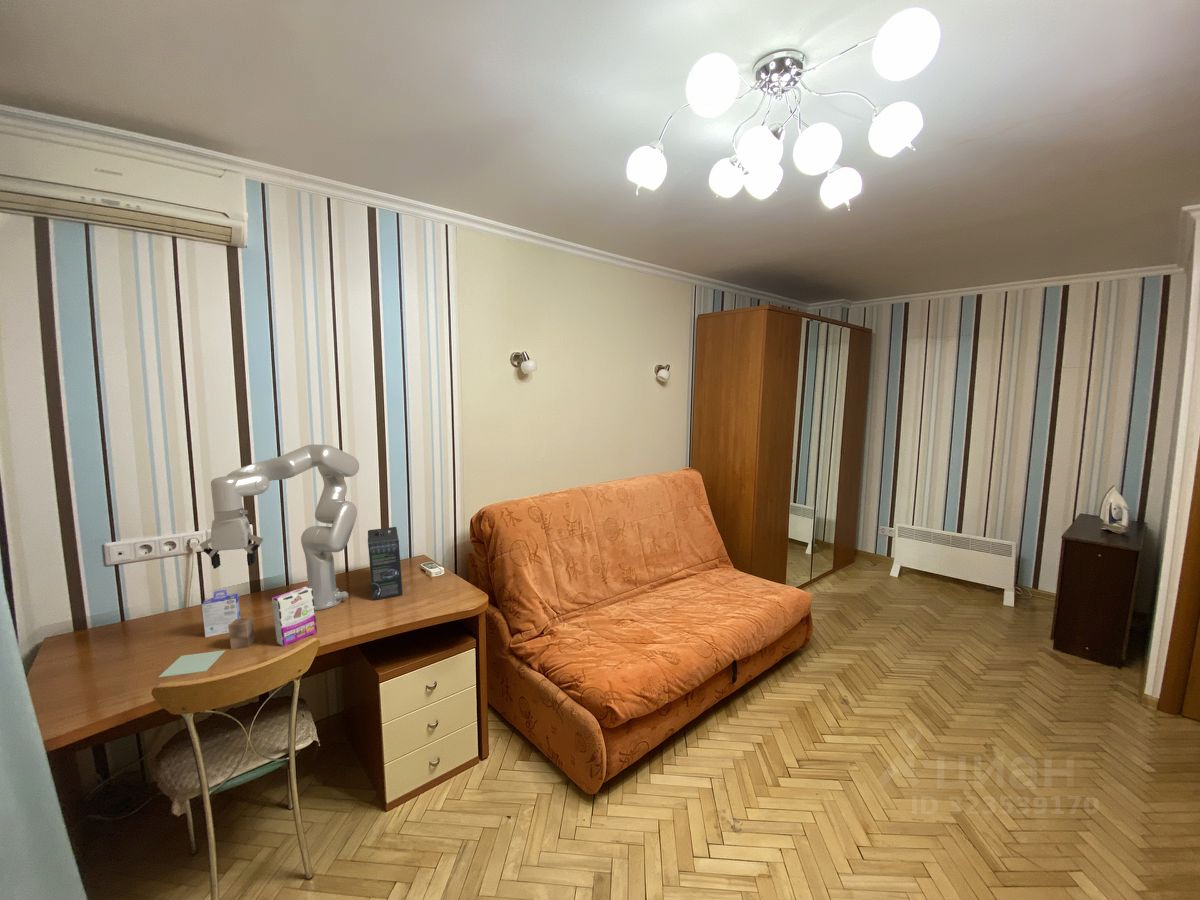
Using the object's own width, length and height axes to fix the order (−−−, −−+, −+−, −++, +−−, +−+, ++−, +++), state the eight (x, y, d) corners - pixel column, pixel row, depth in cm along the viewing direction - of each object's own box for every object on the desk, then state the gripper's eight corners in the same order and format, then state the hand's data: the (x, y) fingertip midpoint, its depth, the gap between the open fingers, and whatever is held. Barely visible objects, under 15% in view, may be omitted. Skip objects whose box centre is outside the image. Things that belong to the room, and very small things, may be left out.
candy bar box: (310, 629, 173) (306, 585, 171) (317, 633, 170) (313, 588, 168) (275, 643, 163) (271, 597, 161) (283, 647, 161) (278, 600, 158)
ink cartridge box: (242, 624, 177) (238, 586, 175) (240, 630, 172) (235, 591, 170) (207, 631, 172) (203, 592, 170) (204, 638, 167) (199, 598, 166)
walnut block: (254, 639, 165) (252, 617, 164) (248, 646, 161) (246, 624, 160) (238, 641, 164) (235, 619, 163) (231, 649, 159) (228, 626, 158)
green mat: (225, 651, 159) (225, 650, 159) (206, 671, 147) (205, 670, 147) (181, 656, 156) (181, 655, 155) (158, 678, 144) (158, 677, 144)
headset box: (371, 581, 216) (367, 525, 212) (400, 577, 221) (397, 521, 217) (371, 601, 195) (366, 539, 192) (403, 595, 200) (399, 535, 197)
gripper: (264, 510, 163) (268, 559, 165) (203, 513, 158) (209, 564, 160) (254, 515, 155) (259, 567, 157) (190, 519, 151) (196, 572, 153)
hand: (234, 565), depth 159 cm, fingers open, 9 cm apart
